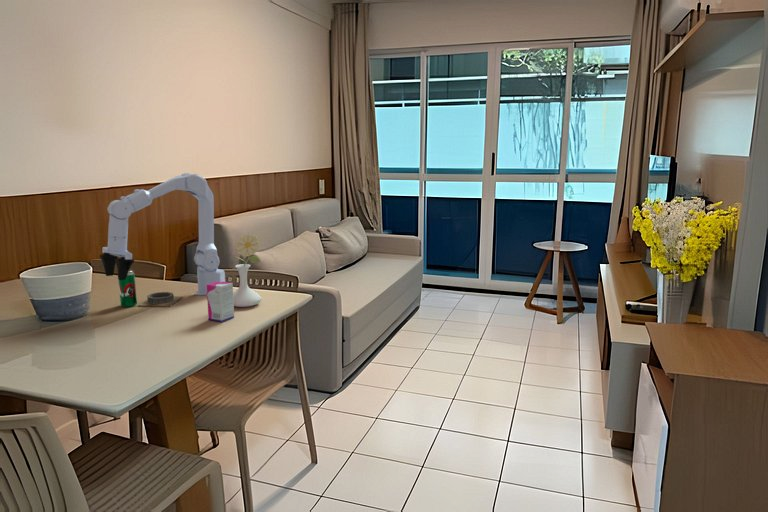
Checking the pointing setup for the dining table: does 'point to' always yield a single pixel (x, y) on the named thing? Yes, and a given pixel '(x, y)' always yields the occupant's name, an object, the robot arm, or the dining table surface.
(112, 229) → the robot arm
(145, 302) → the can socket
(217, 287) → the supplement box
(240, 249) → the flower in vase
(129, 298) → the soda can
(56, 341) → the dining table surface
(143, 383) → the dining table surface
